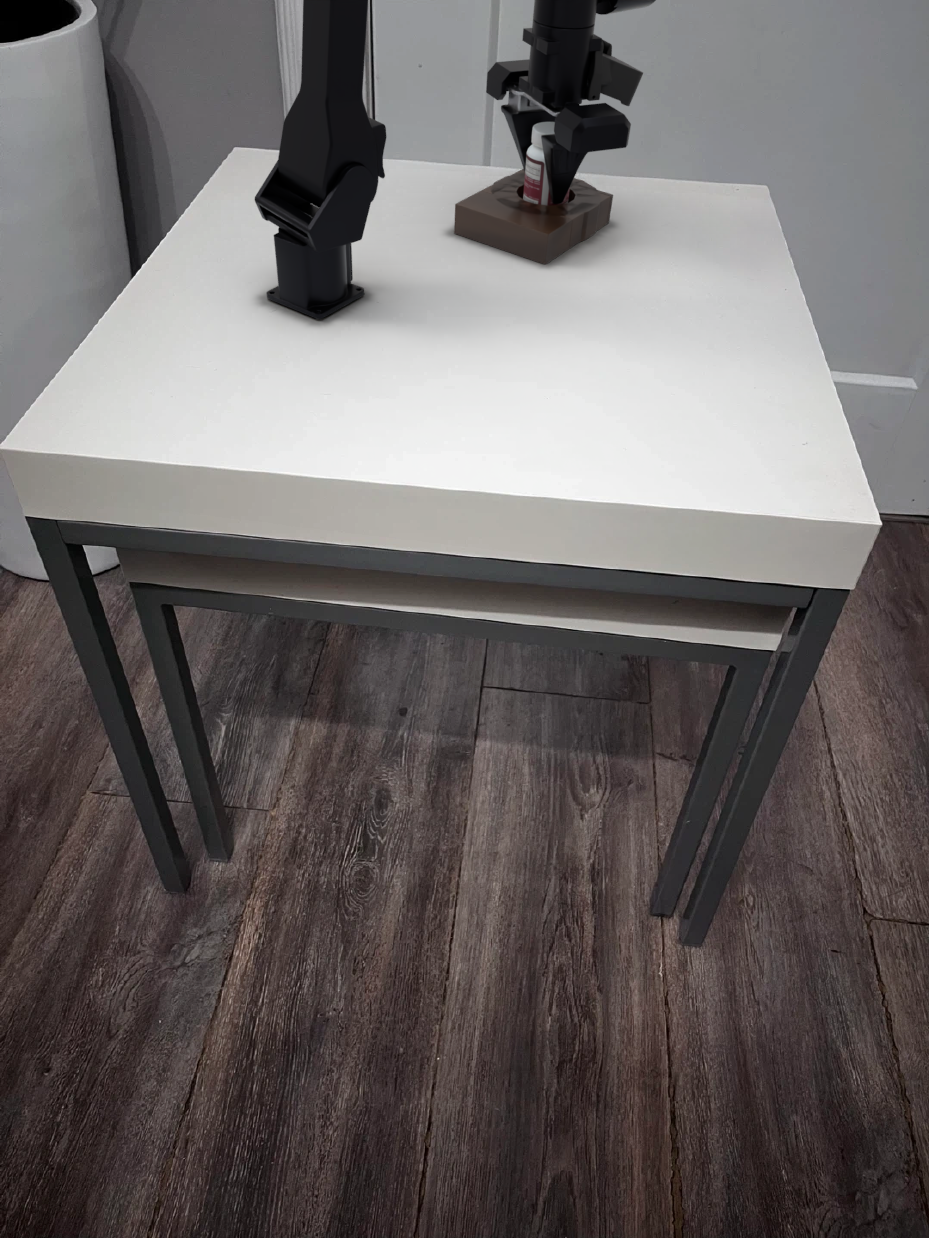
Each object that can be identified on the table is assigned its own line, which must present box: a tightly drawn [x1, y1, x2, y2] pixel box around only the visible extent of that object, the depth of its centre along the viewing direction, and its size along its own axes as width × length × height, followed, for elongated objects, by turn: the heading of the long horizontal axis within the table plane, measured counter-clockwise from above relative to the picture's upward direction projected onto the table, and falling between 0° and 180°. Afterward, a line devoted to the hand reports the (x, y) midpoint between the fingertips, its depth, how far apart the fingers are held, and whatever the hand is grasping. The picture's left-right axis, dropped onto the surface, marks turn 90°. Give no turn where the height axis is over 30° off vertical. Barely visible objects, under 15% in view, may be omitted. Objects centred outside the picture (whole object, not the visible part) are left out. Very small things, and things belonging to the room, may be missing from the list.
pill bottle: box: [523, 122, 570, 206], centre depth 98 cm, size 5×5×8 cm
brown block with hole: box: [453, 168, 614, 265], centre depth 100 cm, size 14×11×3 cm
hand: (545, 194), depth 100 cm, fingers closed on pill bottle, 5 cm apart
